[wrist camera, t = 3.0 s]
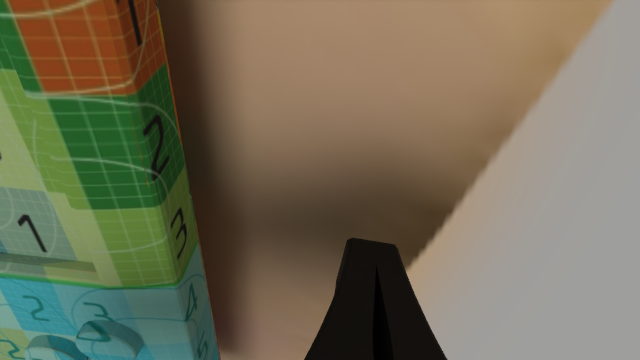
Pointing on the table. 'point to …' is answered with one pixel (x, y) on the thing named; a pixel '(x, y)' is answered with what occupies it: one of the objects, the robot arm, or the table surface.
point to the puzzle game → (95, 190)
